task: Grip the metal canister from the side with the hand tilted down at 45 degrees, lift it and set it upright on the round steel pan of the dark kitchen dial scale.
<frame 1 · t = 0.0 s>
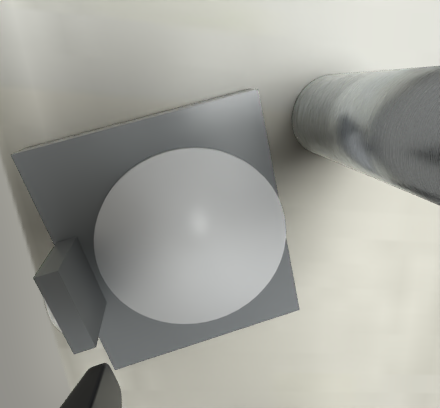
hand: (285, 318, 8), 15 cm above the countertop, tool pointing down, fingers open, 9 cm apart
metal canister: (328, 115, 22), on the countertop
scale: (177, 232, 23), on the countertop
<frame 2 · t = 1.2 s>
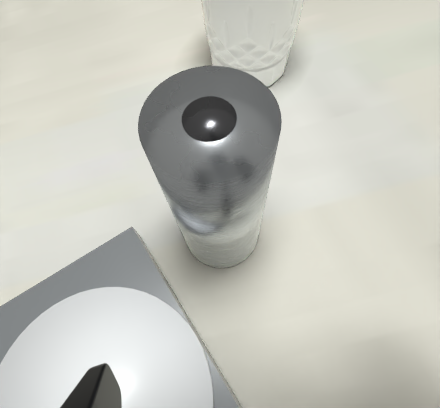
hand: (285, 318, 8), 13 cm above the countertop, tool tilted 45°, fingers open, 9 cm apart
white cup: (248, 64, 30), on the countertop
metal canister: (221, 231, 23), on the countertop
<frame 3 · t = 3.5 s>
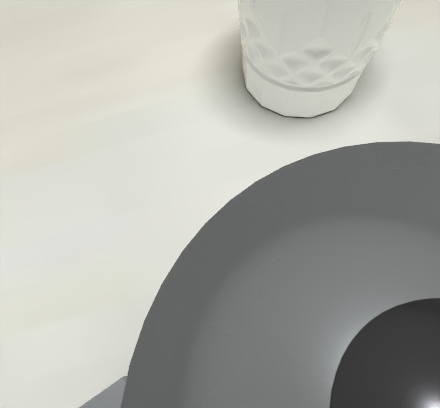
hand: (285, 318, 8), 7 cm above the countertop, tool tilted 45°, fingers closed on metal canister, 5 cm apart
white cup: (297, 77, 20), on the countertop
metal canister: (275, 365, 14), on the countertop, touching gripper
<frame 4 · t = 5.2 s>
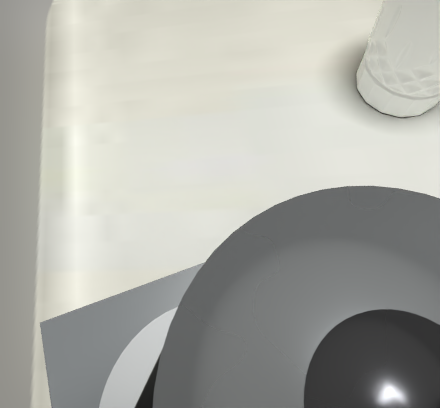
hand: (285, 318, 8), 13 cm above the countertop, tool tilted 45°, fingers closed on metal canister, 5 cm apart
white cup: (395, 86, 28), on the countertop
metal canister: (272, 362, 15), point 5 cm above the countertop, touching gripper
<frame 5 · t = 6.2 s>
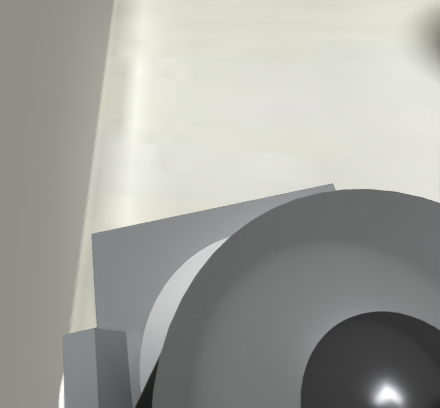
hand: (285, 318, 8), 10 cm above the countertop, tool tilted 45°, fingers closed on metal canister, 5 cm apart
metal canister: (272, 363, 15), point 3 cm above the countertop, touching gripper
scale: (246, 359, 17), on the countertop
when the fingers open (10 cm above the countertop, at t = 6.8 s): metal canister stays where it is, resting on scale.
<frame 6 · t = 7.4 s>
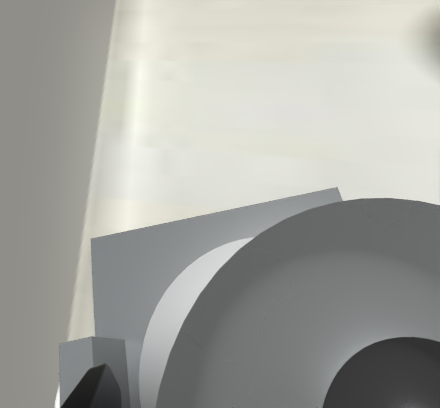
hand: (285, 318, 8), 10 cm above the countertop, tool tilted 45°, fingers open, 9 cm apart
metal canister: (276, 372, 14), point 3 cm above the countertop, touching scale
scale: (249, 368, 17), on the countertop
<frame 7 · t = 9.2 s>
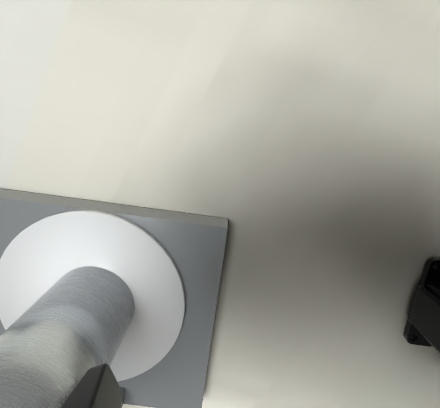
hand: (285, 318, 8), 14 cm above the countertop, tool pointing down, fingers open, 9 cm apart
metal canister: (93, 304, 21), point 3 cm above the countertop, touching scale
scale: (103, 296, 24), on the countertop
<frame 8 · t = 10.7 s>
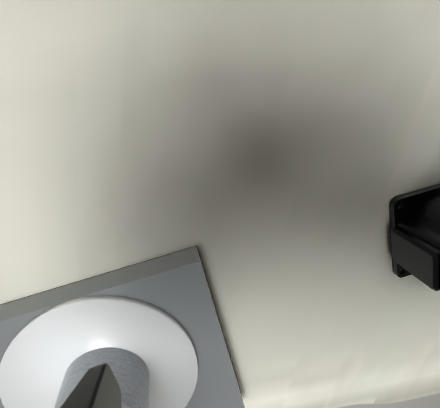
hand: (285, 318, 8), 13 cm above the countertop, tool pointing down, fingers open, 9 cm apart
metal canister: (107, 380, 21), point 3 cm above the countertop, touching scale
scale: (114, 361, 24), on the countertop
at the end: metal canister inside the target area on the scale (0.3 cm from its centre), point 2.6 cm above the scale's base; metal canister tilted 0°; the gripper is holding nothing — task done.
